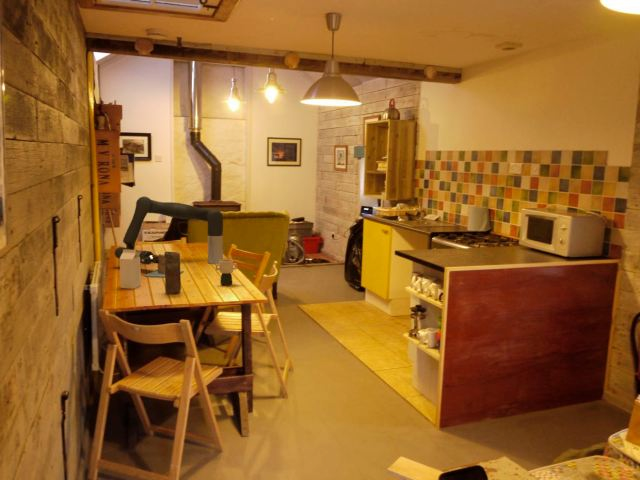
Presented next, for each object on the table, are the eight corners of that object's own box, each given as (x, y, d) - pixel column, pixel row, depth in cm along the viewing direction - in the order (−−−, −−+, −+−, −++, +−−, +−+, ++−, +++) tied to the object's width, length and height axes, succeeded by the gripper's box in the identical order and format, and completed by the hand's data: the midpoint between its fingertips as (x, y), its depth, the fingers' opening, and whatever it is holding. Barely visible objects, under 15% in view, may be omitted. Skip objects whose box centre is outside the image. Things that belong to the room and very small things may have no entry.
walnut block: (164, 271, 305) (164, 254, 303) (171, 272, 302) (170, 255, 301) (158, 273, 300) (157, 255, 299) (164, 274, 298) (164, 256, 296)
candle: (167, 290, 266) (166, 250, 263) (182, 290, 266) (181, 250, 263) (163, 294, 258) (162, 253, 255) (179, 294, 259) (178, 253, 256)
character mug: (236, 282, 285) (235, 258, 283) (237, 285, 278) (237, 261, 276) (215, 283, 282) (214, 259, 280) (216, 286, 275) (216, 261, 273)
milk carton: (133, 289, 268) (132, 251, 265) (120, 288, 269) (119, 250, 266) (141, 285, 274) (139, 249, 272) (128, 284, 276) (127, 248, 273)
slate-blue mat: (157, 270, 310) (157, 269, 310) (183, 272, 308) (183, 270, 308) (144, 276, 295) (144, 275, 295) (172, 278, 292) (172, 276, 292)
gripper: (133, 252, 302) (154, 255, 294) (152, 249, 314) (173, 251, 306) (133, 265, 303) (154, 269, 295) (153, 261, 315) (173, 264, 307)
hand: (164, 260), depth 300 cm, fingers open, 8 cm apart
